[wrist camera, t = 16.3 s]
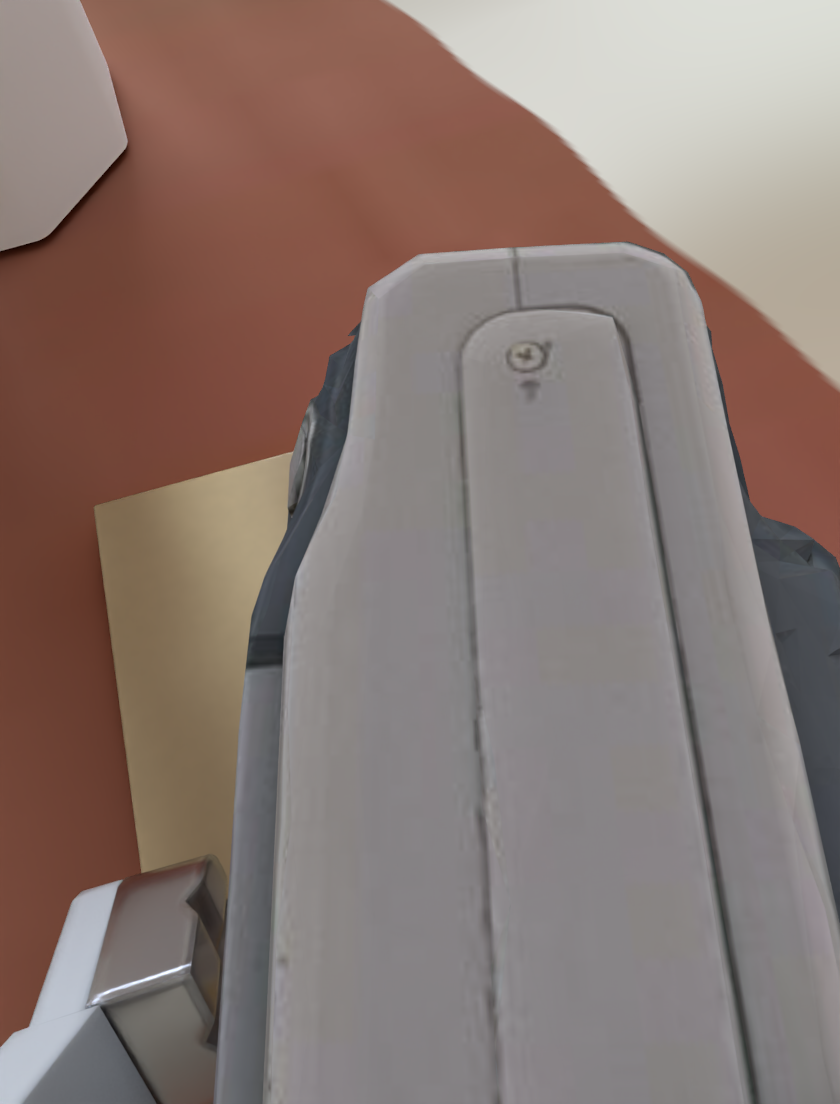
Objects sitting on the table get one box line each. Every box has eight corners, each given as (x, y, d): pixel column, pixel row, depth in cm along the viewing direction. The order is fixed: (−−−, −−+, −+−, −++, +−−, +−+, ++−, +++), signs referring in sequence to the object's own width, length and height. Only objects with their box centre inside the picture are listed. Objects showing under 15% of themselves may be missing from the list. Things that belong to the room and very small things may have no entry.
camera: (354, 577, 16) (251, 201, 7) (614, 578, 16) (855, 196, 7) (322, 1242, 12) (-70, 2606, 3) (684, 1248, 12) (1632, 2691, 2)
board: (277, 1722, 11) (260, 1804, 10) (109, 522, 18) (91, 504, 17) (1022, 1414, 11) (1072, 1462, 11) (563, 397, 19) (569, 374, 18)
